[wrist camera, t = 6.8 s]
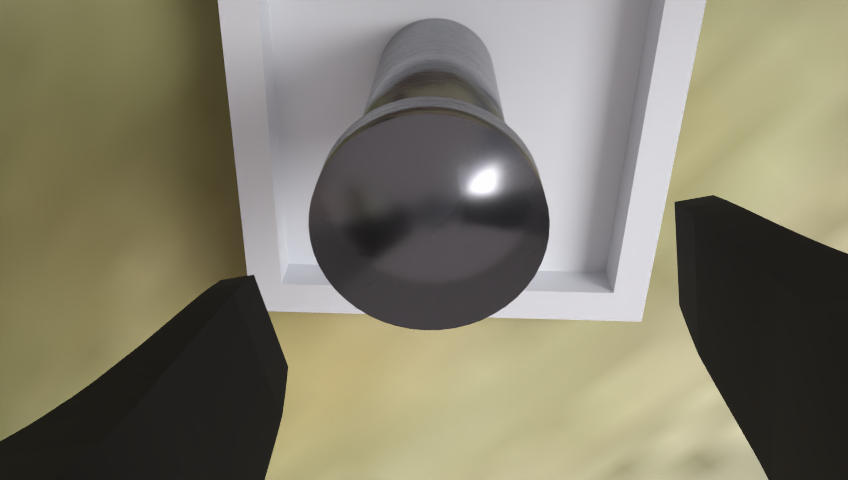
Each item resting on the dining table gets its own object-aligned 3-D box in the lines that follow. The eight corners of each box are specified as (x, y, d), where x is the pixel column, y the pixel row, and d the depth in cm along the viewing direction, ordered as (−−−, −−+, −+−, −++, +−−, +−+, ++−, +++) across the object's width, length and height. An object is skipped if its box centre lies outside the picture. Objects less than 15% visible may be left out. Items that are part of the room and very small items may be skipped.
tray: (703, -116, 18) (729, -113, 17) (627, 290, 24) (641, 321, 22) (223, -129, 18) (203, -127, 17) (263, 280, 24) (251, 310, 22)
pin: (493, -14, 19) (528, 90, 11) (520, 129, 21) (565, 307, 13) (345, 22, 19) (275, 146, 11) (384, 158, 21) (347, 347, 13)
